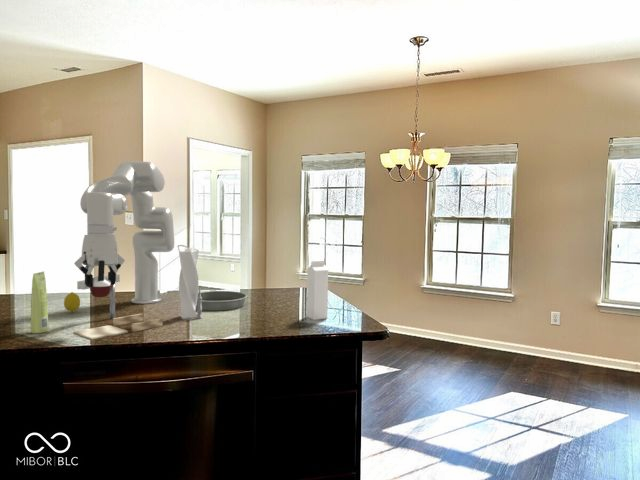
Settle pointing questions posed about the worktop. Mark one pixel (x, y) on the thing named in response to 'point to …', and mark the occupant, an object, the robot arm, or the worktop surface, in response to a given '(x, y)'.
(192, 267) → the skyscraper
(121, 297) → the worktop surface
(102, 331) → the pad
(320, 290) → the milk
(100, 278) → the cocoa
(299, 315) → the worktop surface
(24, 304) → the worktop surface
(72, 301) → the lemon
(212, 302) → the cake pan
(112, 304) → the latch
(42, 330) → the tube
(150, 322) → the holder
